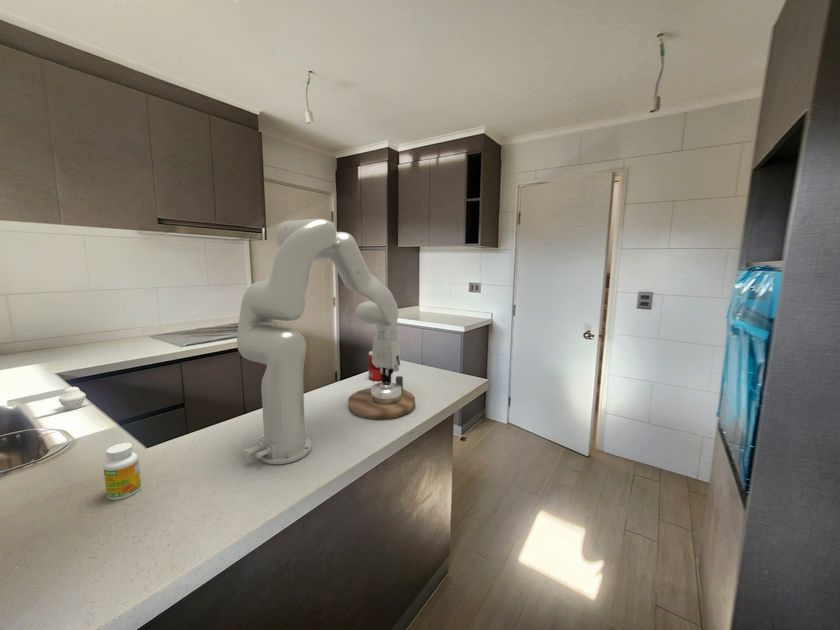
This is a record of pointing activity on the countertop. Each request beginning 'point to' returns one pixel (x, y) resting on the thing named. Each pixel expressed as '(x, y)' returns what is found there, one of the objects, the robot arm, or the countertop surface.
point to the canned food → (374, 370)
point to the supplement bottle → (121, 471)
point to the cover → (386, 393)
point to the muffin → (72, 398)
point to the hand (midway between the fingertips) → (386, 384)
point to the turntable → (366, 408)
